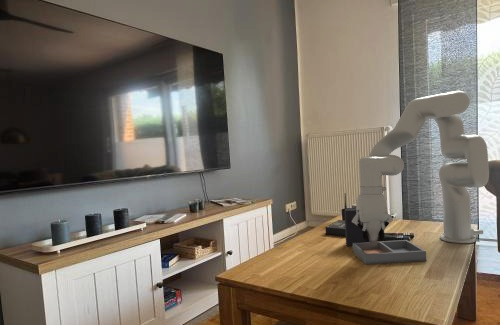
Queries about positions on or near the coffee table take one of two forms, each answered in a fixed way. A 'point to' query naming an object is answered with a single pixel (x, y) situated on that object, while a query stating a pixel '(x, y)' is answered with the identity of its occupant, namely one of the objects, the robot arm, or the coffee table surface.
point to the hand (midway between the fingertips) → (373, 239)
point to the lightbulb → (373, 231)
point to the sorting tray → (389, 252)
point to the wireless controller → (337, 227)
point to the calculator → (352, 228)
